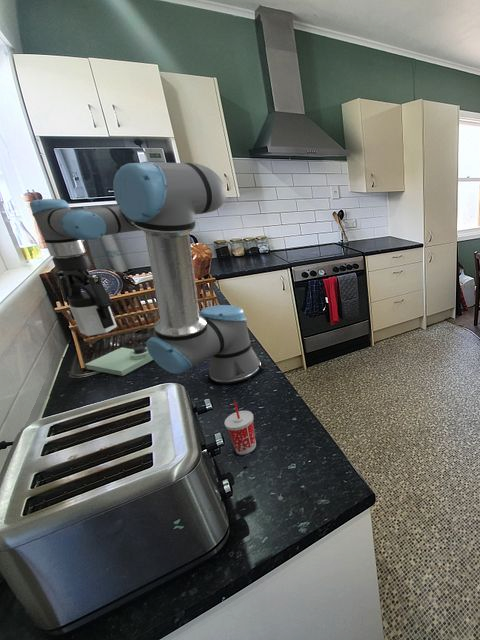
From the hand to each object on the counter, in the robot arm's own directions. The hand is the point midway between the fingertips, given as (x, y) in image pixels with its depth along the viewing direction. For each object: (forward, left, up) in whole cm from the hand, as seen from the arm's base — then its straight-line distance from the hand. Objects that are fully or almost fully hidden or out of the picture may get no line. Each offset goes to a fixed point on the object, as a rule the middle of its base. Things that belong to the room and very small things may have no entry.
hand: (97, 324), depth 110 cm
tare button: (-6, -5, -12) cm, 15 cm away
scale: (-2, -2, -15) cm, 16 cm away
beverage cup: (-68, +20, -16) cm, 72 cm away
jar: (0, 0, -2) cm, 2 cm away
